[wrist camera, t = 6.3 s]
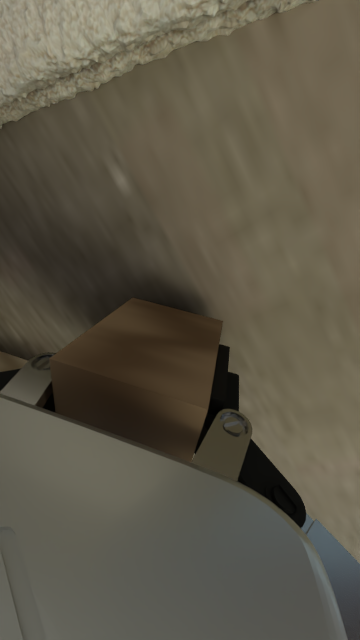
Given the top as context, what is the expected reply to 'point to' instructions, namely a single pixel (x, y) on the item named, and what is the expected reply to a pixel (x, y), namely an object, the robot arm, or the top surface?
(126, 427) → the walnut cube
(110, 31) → the washcloth
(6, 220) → the top surface
